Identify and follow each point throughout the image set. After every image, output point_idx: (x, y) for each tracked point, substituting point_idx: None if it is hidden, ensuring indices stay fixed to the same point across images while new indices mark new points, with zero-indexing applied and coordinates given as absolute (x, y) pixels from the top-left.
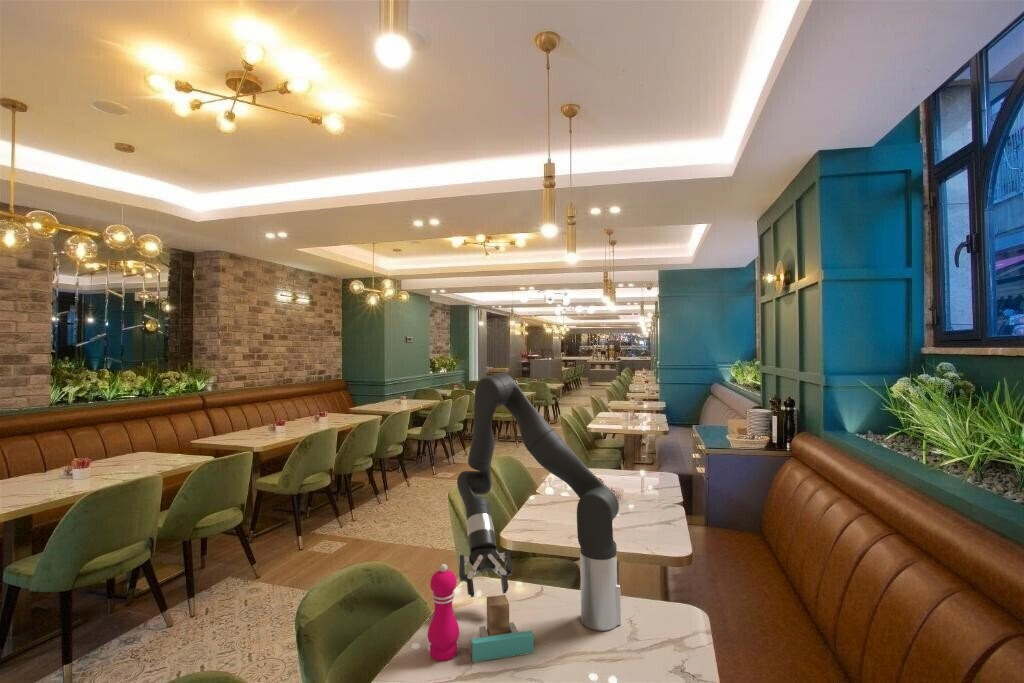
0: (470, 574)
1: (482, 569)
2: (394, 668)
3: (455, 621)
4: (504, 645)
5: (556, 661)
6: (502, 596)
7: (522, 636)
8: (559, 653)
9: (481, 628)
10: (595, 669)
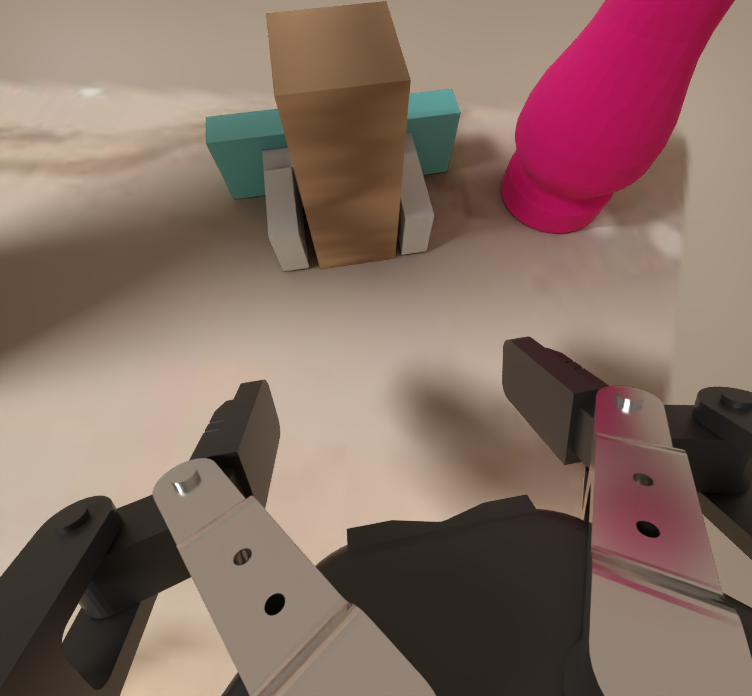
0: (635, 417)
1: (496, 510)
2: (685, 140)
3: (559, 66)
4: None
5: (172, 138)
6: (296, 77)
7: (252, 112)
8: (146, 169)
9: (422, 201)
10: (73, 103)
